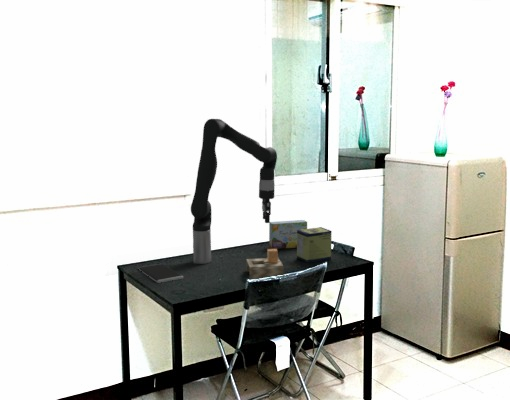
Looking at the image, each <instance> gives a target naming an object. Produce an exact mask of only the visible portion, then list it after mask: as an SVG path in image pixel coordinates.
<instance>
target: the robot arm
mask: <svg viewBox="0 0 510 400" xmlns="http://www.w3.org/2000/svg"><path fill="white" fill-rule="evenodd" d="M202 131H203V132H202V145H201V150H200V158H199V163H198V168H197V175H196V181H195V190H194V194H193V198H192V203H191V205H190V212H191V215H192V217H193V223H192V248H193V249H192V250H193V251H192V253H193V254H192V255H193V264H199V265H200V264H201V265H202V264H203V265H205V264H209V263H211V262H212V241H211V240H212V239H211V238H212V236H211V235H212V234H211V225H212V205H211V202H210V201H209V196H210V191H211V189H212V186H213V184H214V181H215V178H216V175H217V169H218V159H217V152H216V144H217V139H218V138H221V139H225V140H228V141H229V142H231V143H232V144H234V145H235V146H236V147H237V148H239V150H241V151H244V152H245V153H248V154H249V155H251V156H252V157H253V158H255V159H256V160H258V161H259V162H261V163H263V164H262V167H261V168H260V170H259V184H258V198H260V199H261V200H262V202H261V210H262V219H263V220H264V223H265V224H269V222H271V221H270V220H271V218H270V216H271V215H272V213H271V211H272V209H271V208H272V202H271V201H270V200H273V199H275V186H276V185H275V170H276V169H275V168H276V165H277V161H278V153H277V150H276V149H275V148H273V147H271V146H269V147H263V146H262V145H261V144H260V142H258V141H257V140H255V139H253V138H251V137H249V136H247V135H245V134H243V133H241V132H239V131H238V130H236V129H234V128H233V127H231V126H230V124H228V123H226V122H225V121H224V120H222V119H220V118H209V119H207V120H206V122H204V125H203V130H202Z"/></svg>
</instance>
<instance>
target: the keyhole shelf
mask: <svg viewBox="0 0 510 400" xmlns="http://www.w3.org/2000/svg"><path fill="white" fill-rule="evenodd" d="M245 262H246V263H245V264H246V272H248V273H249V280H254V279H253V278H263V277H270V276H277V275H283V276H284V265H283V262H282V261H281V260H280V258H279V257H278V263H268V261H267V257H266V258H262V257H261V258H246V261H245Z"/></svg>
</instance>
